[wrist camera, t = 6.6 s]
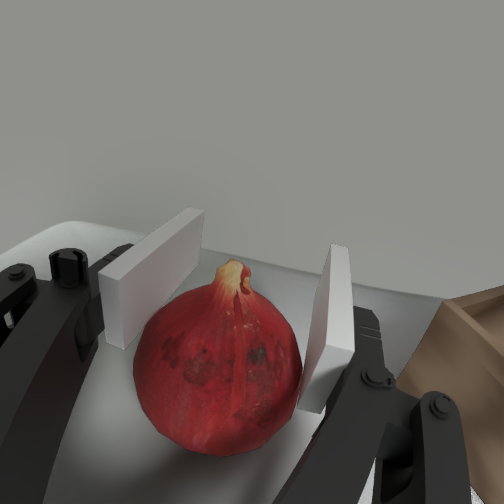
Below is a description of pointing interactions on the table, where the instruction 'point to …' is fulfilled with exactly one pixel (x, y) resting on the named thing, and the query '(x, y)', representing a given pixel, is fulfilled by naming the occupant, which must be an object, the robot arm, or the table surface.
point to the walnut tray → (468, 379)
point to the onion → (218, 367)
